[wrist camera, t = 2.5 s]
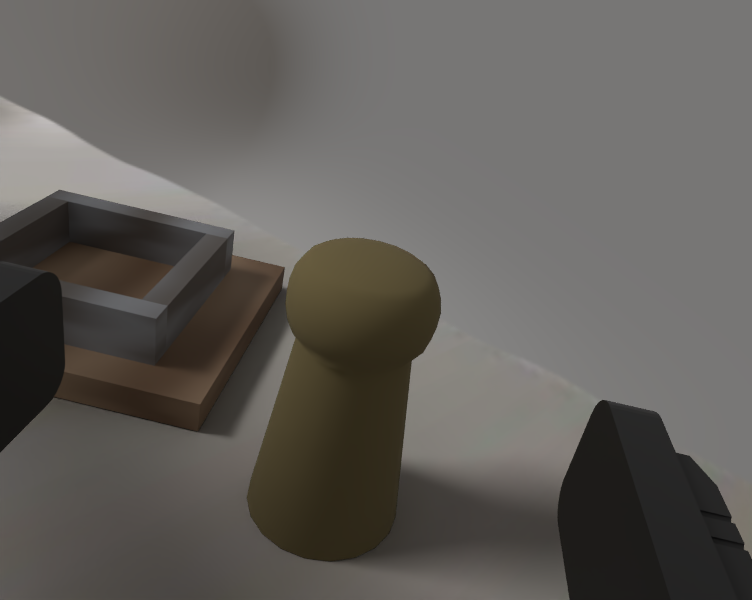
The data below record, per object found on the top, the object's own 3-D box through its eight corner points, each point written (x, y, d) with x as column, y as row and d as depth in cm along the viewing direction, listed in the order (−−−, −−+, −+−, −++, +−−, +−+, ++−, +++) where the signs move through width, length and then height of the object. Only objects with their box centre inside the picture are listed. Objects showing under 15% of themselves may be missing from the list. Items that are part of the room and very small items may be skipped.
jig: (-153, 346, 29) (-173, 266, 27) (35, 230, 41) (31, 170, 39) (197, 431, 28) (203, 356, 26) (281, 288, 41) (289, 230, 39)
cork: (247, 444, 28) (276, 209, 23) (382, 448, 30) (438, 227, 24) (246, 562, 23) (283, 294, 18) (409, 560, 24) (488, 311, 19)
